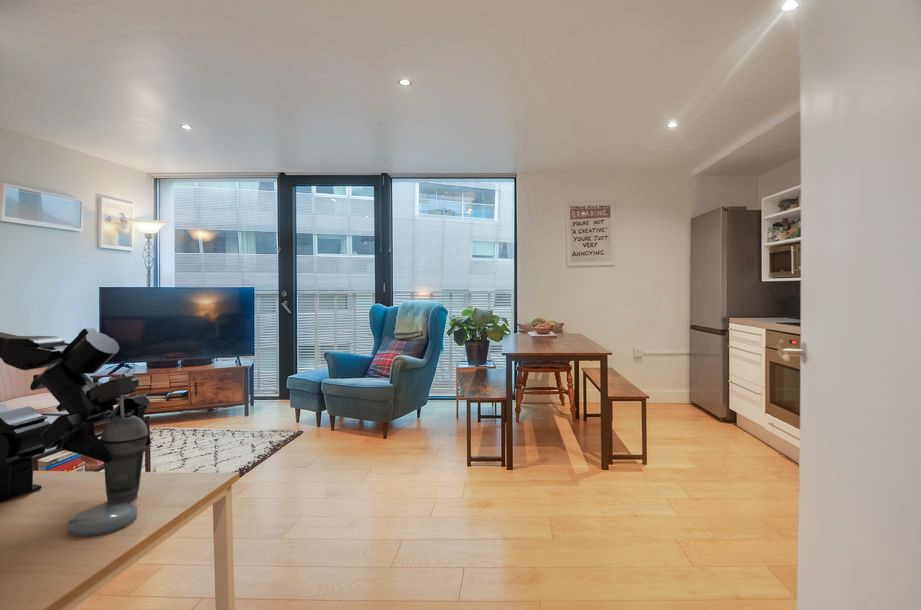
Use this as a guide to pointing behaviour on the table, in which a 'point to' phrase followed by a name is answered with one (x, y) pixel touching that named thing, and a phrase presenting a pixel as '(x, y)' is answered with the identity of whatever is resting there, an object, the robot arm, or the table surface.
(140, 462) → the beverage cup
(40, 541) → the table surface
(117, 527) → the slate dish
